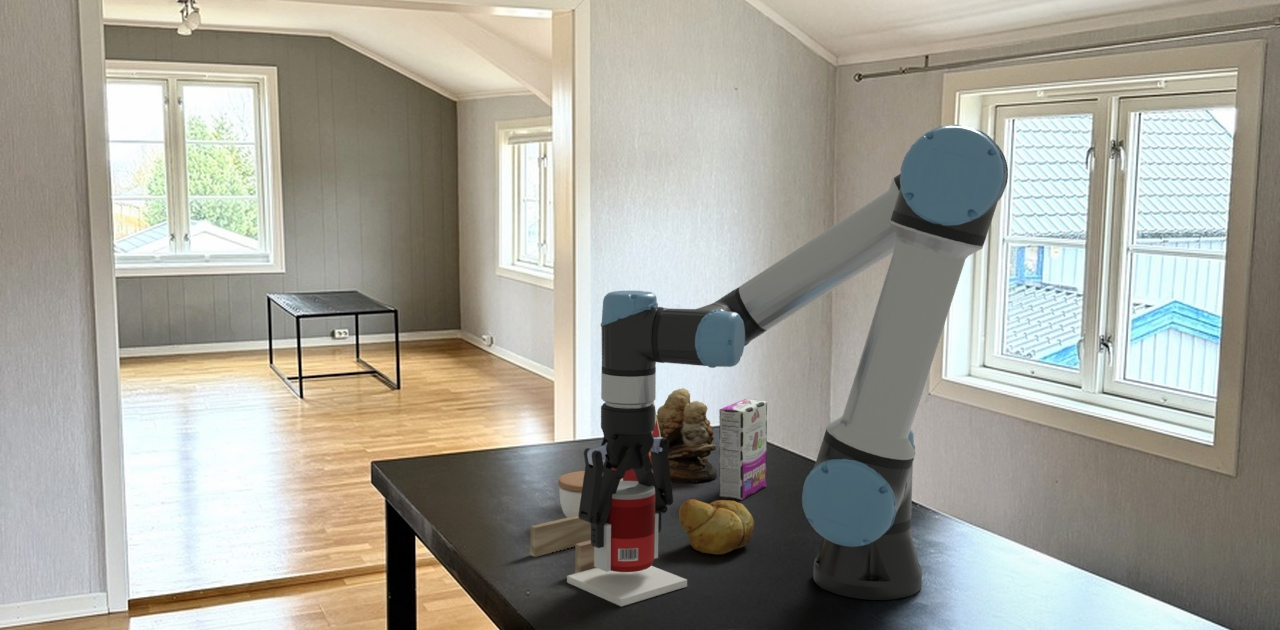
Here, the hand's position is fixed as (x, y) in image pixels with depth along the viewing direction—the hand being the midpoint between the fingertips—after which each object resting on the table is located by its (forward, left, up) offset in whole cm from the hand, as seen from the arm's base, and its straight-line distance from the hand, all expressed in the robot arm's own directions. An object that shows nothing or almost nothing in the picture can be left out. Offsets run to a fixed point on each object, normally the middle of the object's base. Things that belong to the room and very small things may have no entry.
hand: (626, 562), depth 160 cm
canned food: (0, 0, 0) cm, 0 cm away
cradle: (+13, -3, -3) cm, 14 cm away
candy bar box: (+24, -48, -4) cm, 54 cm away
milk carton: (+35, -31, -4) cm, 47 cm away
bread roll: (+4, -23, -4) cm, 23 cm away
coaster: (0, 0, -3) cm, 3 cm away
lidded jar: (+26, -14, -4) cm, 30 cm away
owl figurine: (+41, -49, -4) cm, 64 cm away
